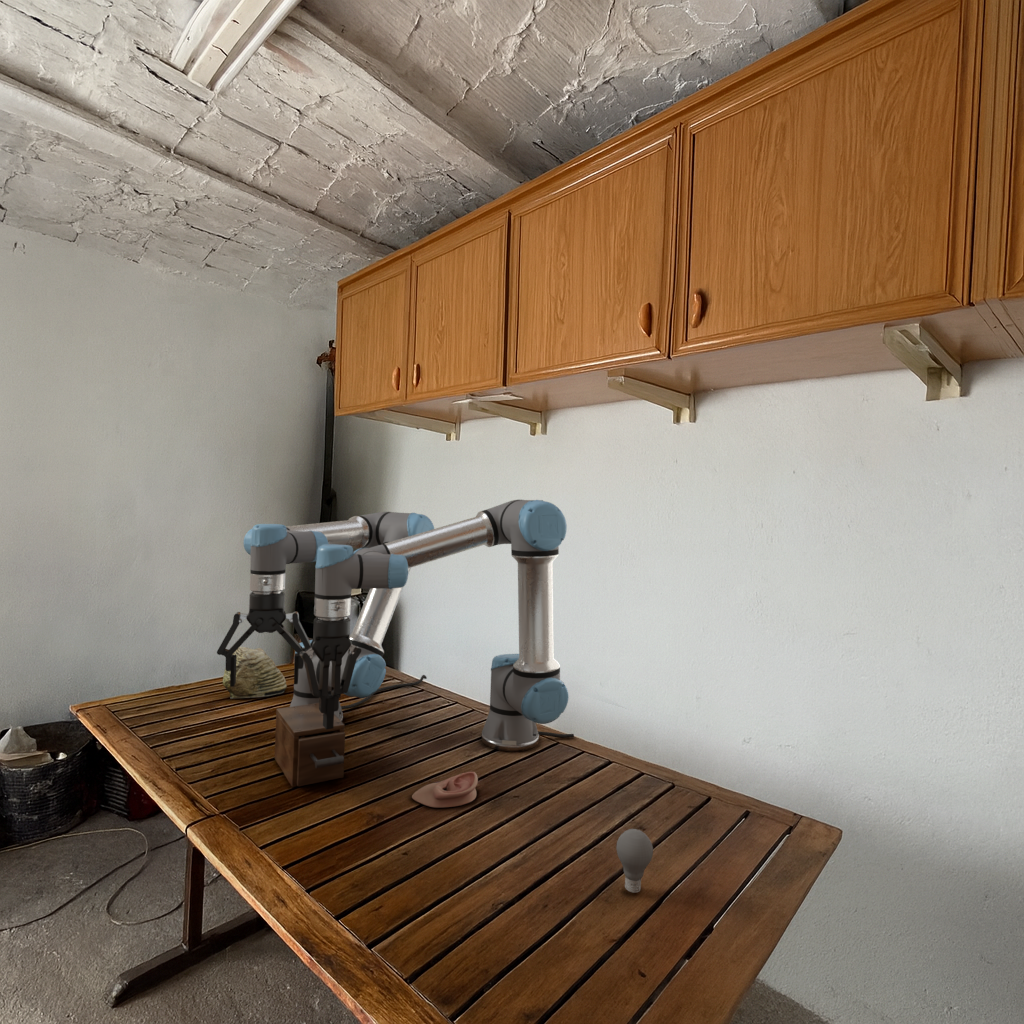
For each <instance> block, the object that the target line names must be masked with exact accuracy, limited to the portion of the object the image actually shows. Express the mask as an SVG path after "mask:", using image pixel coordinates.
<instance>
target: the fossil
mask: <svg viewBox="0 0 1024 1024" xmlns="http://www.w3.org/2000/svg"><path fill="white" fill-rule="evenodd" d="M233 655H236V683H235V685H234V687H230V671H226V669H225V668H224V671H223V675H222V676H223V677H222V685H223V687H224V688H225V690H226V691H228V693H229V698H230V699H250V698H264V697H271V696H275V695H281V694H284V693H285V691H286V689H287V687H288V686H287V680H286V678H285V676H284V674H283V673H282V672H281V669H279V668H278V667H277V665H276V663H275V662H274V660H273V659H272V658H271V657H270V656H269V655H268V654H267V653H266V652H265V650H264V649H263V648H260V647H258V648H251V647H247V646H246V647H245V646H240V647H239V648H238V649H237V650H236V651H235V652H234V653H233Z"/></svg>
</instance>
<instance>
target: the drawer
mask: <svg viewBox="0 0 1024 1024" xmlns="http://www.w3.org/2000/svg"><path fill="white" fill-rule="evenodd" d="M345 747H346V732H345V731H344V732H338V733H337V731H329V732H323V733H317V734H311V735H305V736H299V739H298V765H297V786H296V787H298V788H299V787H303V786H309V785H312V784H317V783H323V782H327V781H332V780H337V779H342V778H344V777H345V775H344V774H345Z"/></svg>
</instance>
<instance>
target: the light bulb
mask: <svg viewBox="0 0 1024 1024" xmlns="http://www.w3.org/2000/svg"><path fill="white" fill-rule="evenodd" d="M615 849H616V854H617V857H618V859H619V861H620V863H621V865H622V867H623V873H624V874H623V875H624V876H625V878H624V888H625V890H627V891H628V892H630V893H634V894H635V893H639V892H640V891H641V889H642V887H641V886H642V879H643V877H644V875H645V871H646V868H647V867H648V866H649V864H650V863H651V861H652V859H653V855H654V847H653V843H652V841H651V838H649V836H648V835H647V834H646V833H645V832H643V831H642V830H641V829H636V828H629V829H627V830H625V831H623V832H622V833H621V834H620V835H619V837H618V839H617V841H616V847H615Z"/></svg>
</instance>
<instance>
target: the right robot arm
mask: <svg viewBox="0 0 1024 1024" xmlns="http://www.w3.org/2000/svg"><path fill="white" fill-rule="evenodd" d="M567 530H568V525H567V520H566V517H565V514H564V513H563V512H562V510H561V509H560V508H559V507H558V506H556V504H554V503H552V502H549V501H545V500H543V499H513V500H509V501H507V502H504V503H500V504H499V505H495V506H493V507H490V508H486V509H484V510H480V511H478V512H477V513H476V516H473V517H471V518H467V519H463V520H461V521H456V522H453V523H450V524H447V525H444V526H440V527H435V528H434V529H433V530H429V531H426V532H422V533H419V534H416V535H412V536H409V537H405V538H402V539H398V540H395V541H392V542H388V543H385V544H382V545H378V546H375V547H371V548H356V549H355V550H354V547H352V546H350V545H338V544H327V545H322V546H320V547H319V548H318V550H317V560H316V561H315V565H314V567H315V573H314V574H315V576H314V577H315V579H314V581H315V582H314V604H313V605H314V607H313V615H314V616H315V618H314V619H313V627H312V628H313V631H312V632H313V633H312V639H311V640H312V642H311V645H310V646H311V647H309V648H308V649H306V650H305V651H301V652H300V653H299V655H300V656H301V658H302V659H303V661H304V664H305V668H306V673H307V678H308V682H309V687H310V692H311V693H312V694H313V695H314V696H315V697H319V711H320V712H321V713H323V726H324V727H325V728H326V730H327V729H333V726H334V712H335V711H338V709H339V702H340V698H341V696H342V695H344V694H343V693H347V692H348V689H349V685H350V682H351V678H352V674H353V670H354V667H355V663H356V659H357V658H358V656H359V655H360V653H361V649H360V648H359V647H357V646H354V645H352V642H351V640H350V635H351V618H350V617H349V616H351V610H352V609H351V608H352V592H353V591H352V590H359V589H361V590H362V589H363V590H364V589H366V590H370V589H387V588H389V589H392V588H402V587H403V588H404V587H405V586H406V584H407V582H408V578H409V574H408V568H411V569H412V568H414V567H418V566H421V565H424V564H428V563H430V562H433V561H437V560H440V559H443V558H447V557H450V556H453V555H455V554H459V553H463V552H466V551H469V550H472V549H476V548H479V547H482V546H486V547H487V548H492V547H495V546H500V545H510V549H511V551H510V552H511V557H512V558H513V559H514V560H515V561H516V563H517V601H518V602H517V608H518V610H517V611H518V613H517V614H518V653H503V654H498V655H495V656H494V657H493V658H492V660H491V667H490V693H489V712H488V714H487V717H486V720H485V723H484V725H483V728H482V731H481V742H482V743H483V744H484V746H487V747H488V748H491V749H494V750H496V751H497V750H498V751H504V752H522V751H527V750H528V751H529V750H530V749H534V748H535V747H537V745H539V740H540V737H539V736H545V737H553V738H558V739H559V738H560V739H571V738H572V739H573V738H575V734H574V733H556V732H550V731H549V732H548V731H540V730H538V726H537V724H538V725H546V724H550V723H552V722H554V721H556V720H557V719H559V718H560V716H561V715H562V714H563V713H564V712H565V711H566V709H567V706H568V703H569V699H570V698H569V697H570V696H569V690H568V687H567V686H566V684H565V683H564V682H563V681H562V680H561V665H560V662H559V661H558V660H557V659H555V655H554V653H555V650H554V649H555V648H554V647H555V646H554V645H555V644H554V574H553V573H554V572H553V570H554V569H553V563H554V561H555V560H556V559H557V558H558V557H559V555H560V553H559V552H560V551H559V547H560V546H561V544H562V542H563V541H564V540H565V538H566V536H567ZM348 649H349V650H348ZM347 651H348V653H349V654H348V657H347V660H346V664H345V668H344V672H343V675H342V679H341V683H340V676H341V665H342V658H343V656H344V655H345V653H346V652H347ZM313 652H314V653H315V654H316V655H317V657H318V658H319V659H320V661H319V662H320V678H319V689H318V684H317V680H316V675H315V670H314V666H313V662H312V660H311V659H312V658H313ZM330 661H331V662H332V676H331V693H332V695H328V678H329V666H330Z"/></svg>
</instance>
